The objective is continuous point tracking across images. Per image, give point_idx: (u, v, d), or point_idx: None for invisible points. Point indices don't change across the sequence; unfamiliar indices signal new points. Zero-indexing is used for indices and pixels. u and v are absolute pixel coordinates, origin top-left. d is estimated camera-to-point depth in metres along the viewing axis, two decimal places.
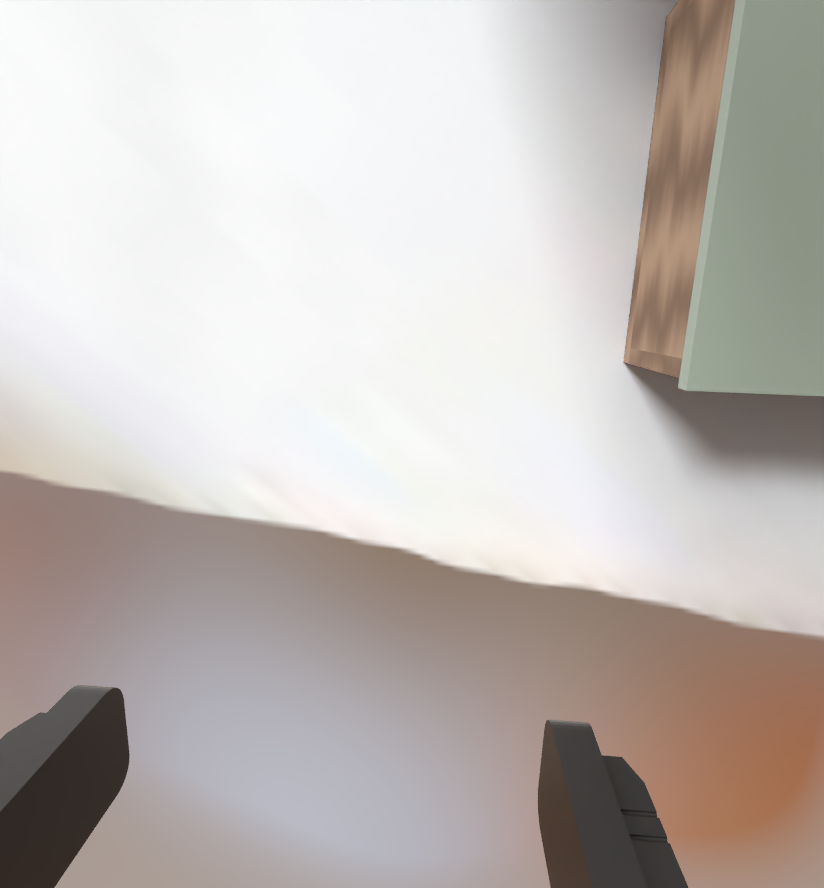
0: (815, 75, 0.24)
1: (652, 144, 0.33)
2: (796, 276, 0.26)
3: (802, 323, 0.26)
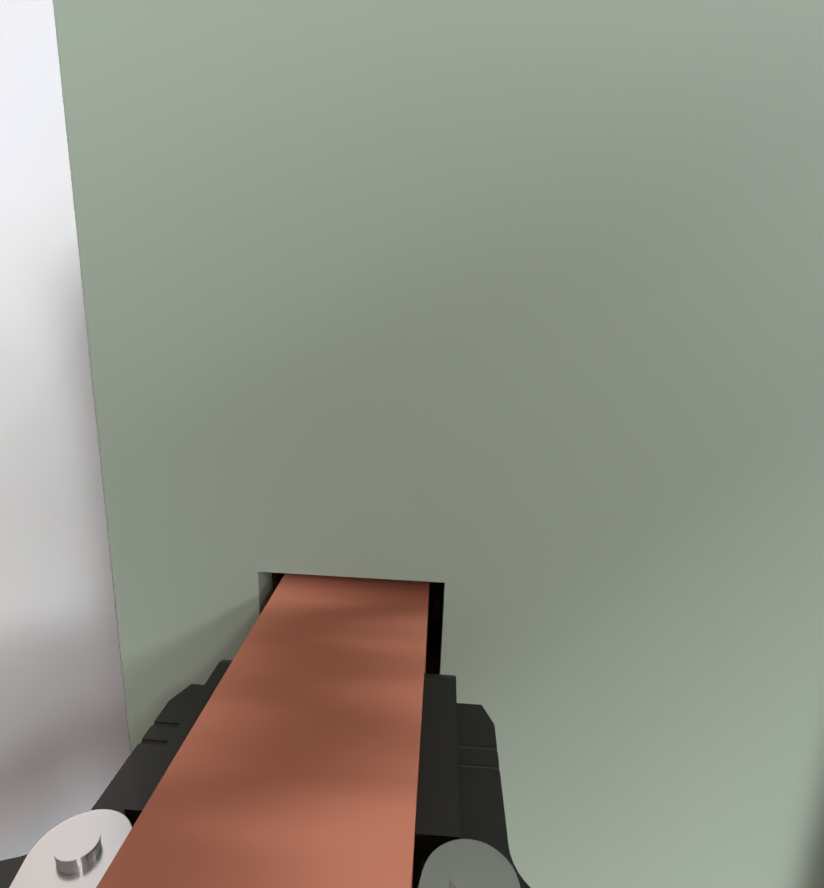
0: (816, 171, 0.10)
1: None
2: (355, 207, 0.10)
3: (247, 242, 0.11)
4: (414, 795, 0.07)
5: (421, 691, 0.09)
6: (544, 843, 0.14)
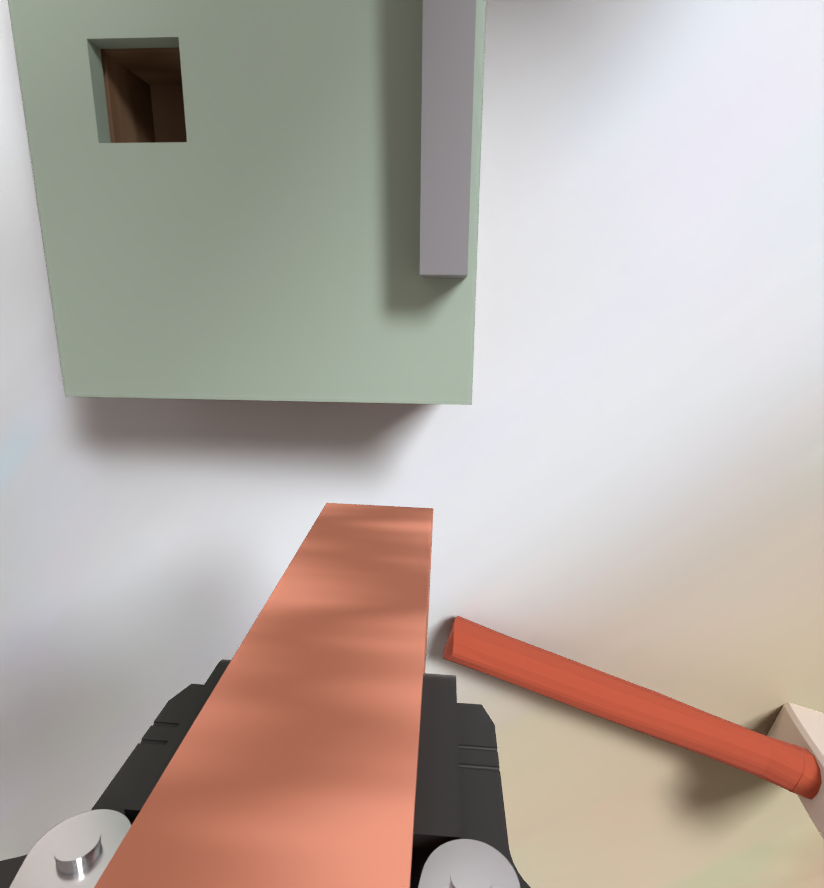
0: None
1: None
2: None
3: None
4: (413, 796, 0.07)
5: (420, 691, 0.09)
6: (250, 205, 0.26)
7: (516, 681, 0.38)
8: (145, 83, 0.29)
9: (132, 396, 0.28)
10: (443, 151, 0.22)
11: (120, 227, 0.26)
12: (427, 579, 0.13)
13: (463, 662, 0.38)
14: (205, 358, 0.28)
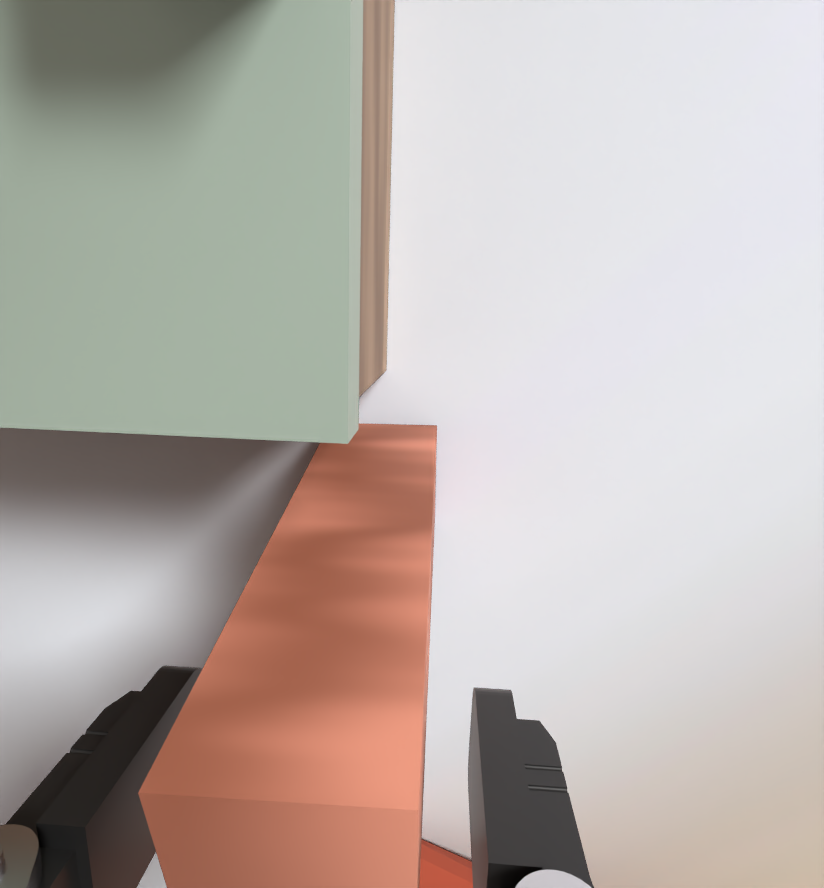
0: None
1: None
2: None
3: None
4: (421, 704, 0.08)
5: (427, 608, 0.10)
6: None
7: None
8: None
9: None
10: None
11: None
12: (432, 498, 0.13)
13: None
14: None
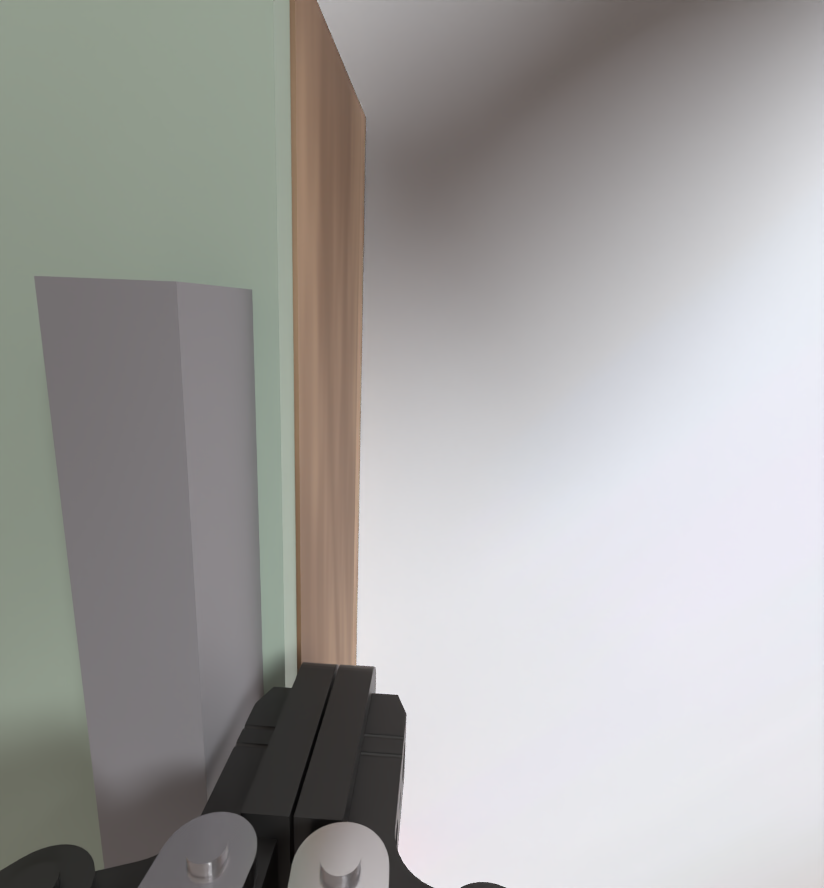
0: None
1: None
2: None
3: None
4: None
5: None
6: None
7: None
8: None
9: None
10: None
11: None
12: None
13: None
14: None
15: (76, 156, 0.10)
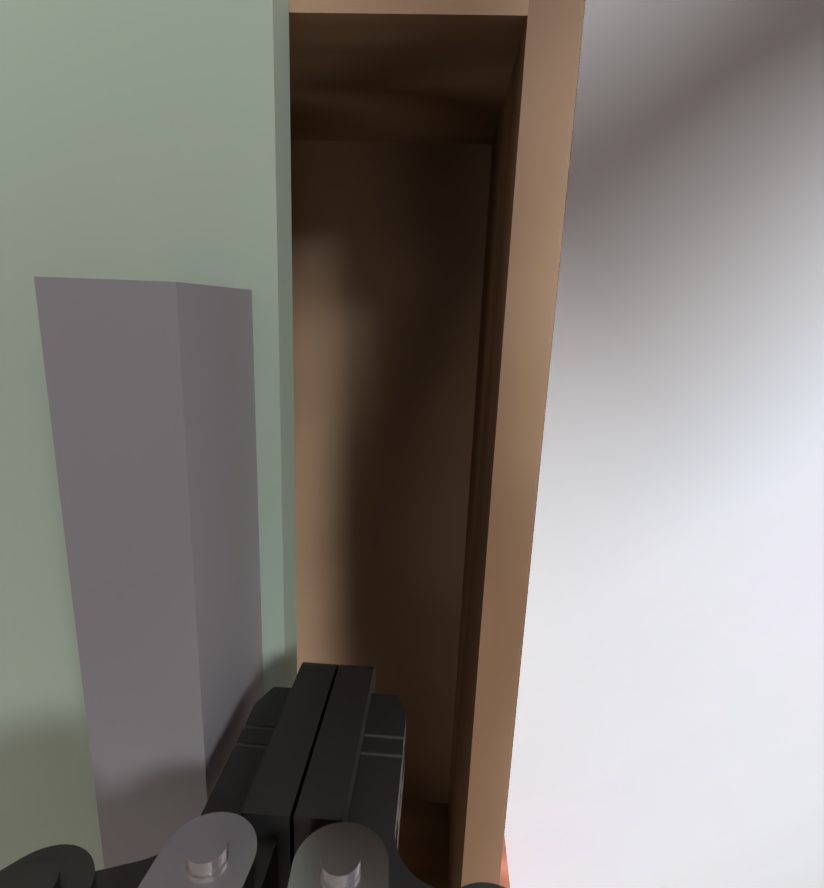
0: None
1: None
2: None
3: None
4: None
5: None
6: None
7: None
8: None
9: None
10: None
11: None
12: None
13: None
14: None
15: (75, 157, 0.10)
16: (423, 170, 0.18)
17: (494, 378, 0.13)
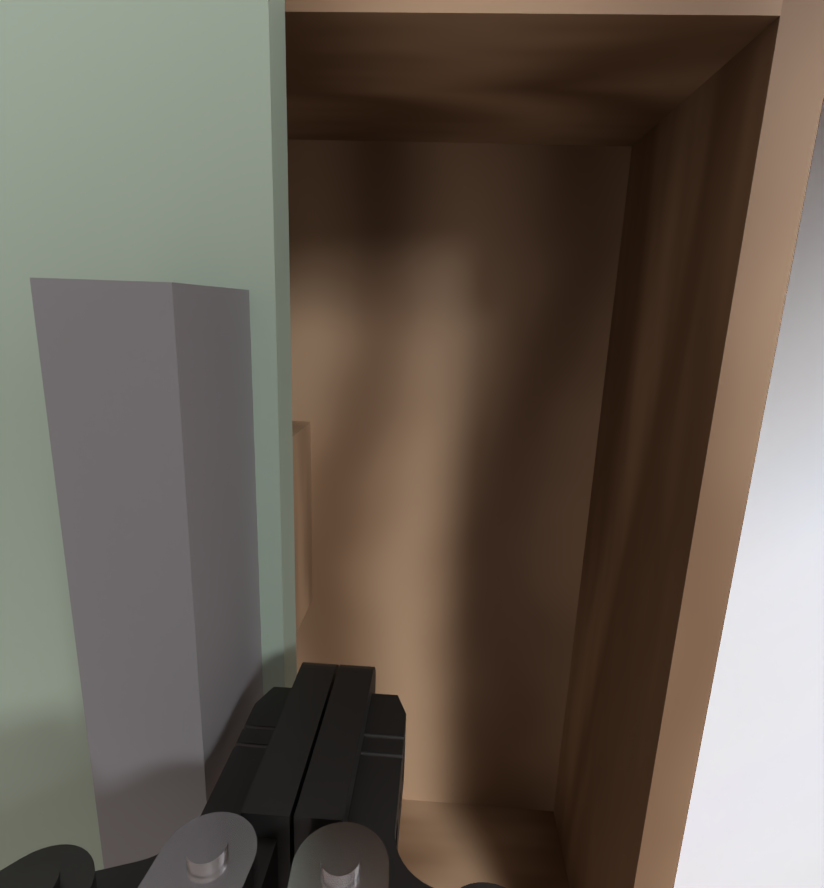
0: None
1: None
2: None
3: None
4: None
5: None
6: None
7: None
8: None
9: None
10: None
11: None
12: None
13: None
14: None
15: (72, 157, 0.10)
16: (559, 172, 0.18)
17: (691, 385, 0.12)
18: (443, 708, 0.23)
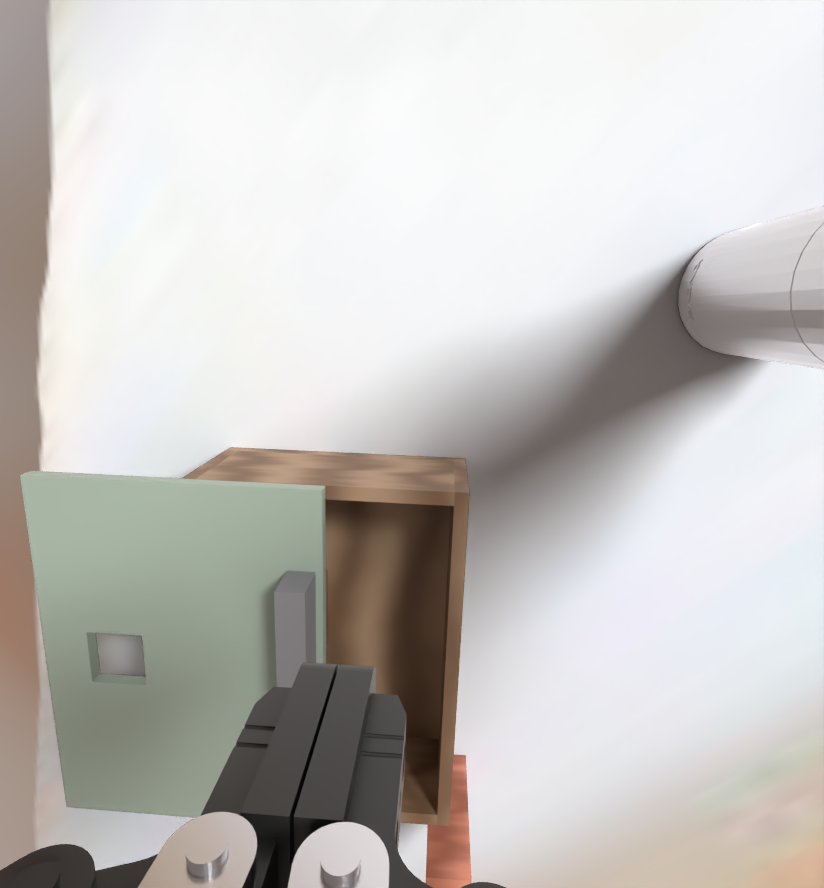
0: (219, 532, 0.38)
1: (383, 455, 0.46)
2: (104, 536, 0.39)
3: (76, 543, 0.39)
4: None
5: None
6: (185, 719, 0.42)
7: None
8: None
9: (110, 809, 0.44)
10: None
11: (104, 723, 0.42)
12: (467, 797, 0.48)
13: None
14: (157, 792, 0.44)
15: (269, 540, 0.38)
16: None
17: None
18: (387, 691, 0.51)
